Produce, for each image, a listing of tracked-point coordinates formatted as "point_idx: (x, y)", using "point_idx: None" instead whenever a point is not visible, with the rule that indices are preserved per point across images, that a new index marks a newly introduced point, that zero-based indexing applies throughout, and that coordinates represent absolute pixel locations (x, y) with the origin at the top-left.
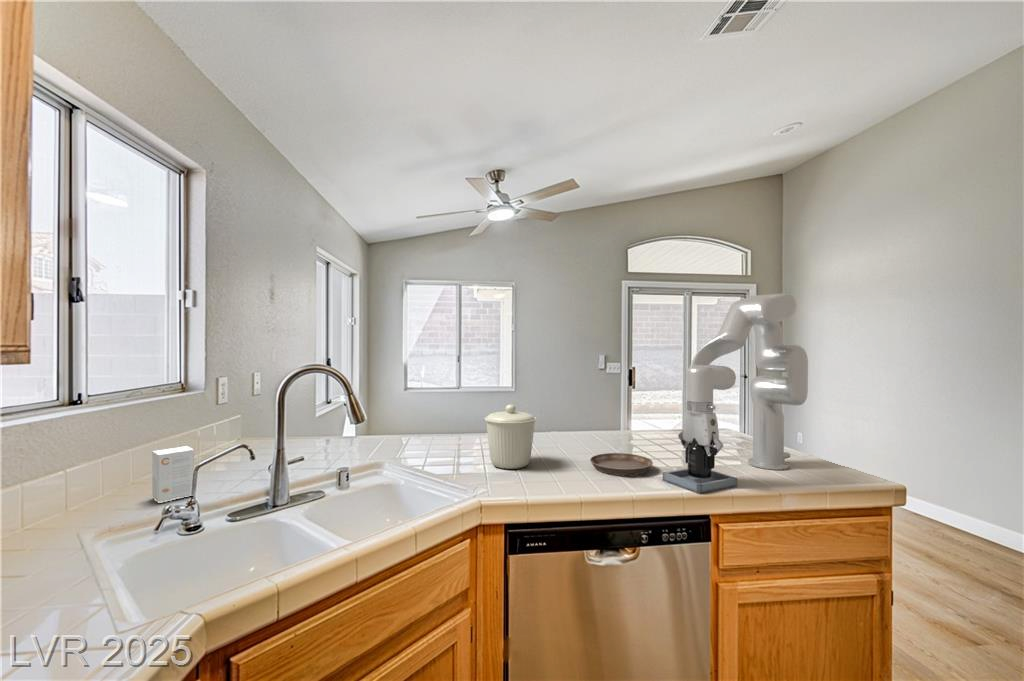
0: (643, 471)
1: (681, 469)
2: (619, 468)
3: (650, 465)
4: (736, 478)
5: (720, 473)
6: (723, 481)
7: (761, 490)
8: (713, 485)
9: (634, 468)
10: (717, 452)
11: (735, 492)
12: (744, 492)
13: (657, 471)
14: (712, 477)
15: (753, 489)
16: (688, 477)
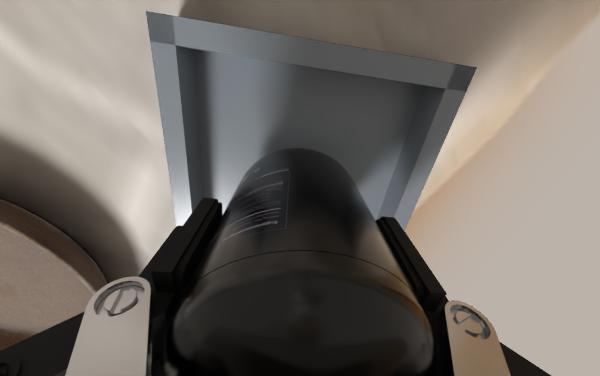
0: (104, 281)
1: (172, 189)
2: (6, 283)
3: (75, 272)
4: (472, 75)
5: (355, 60)
6: (421, 184)
7: (574, 13)
8: None
9: (14, 246)
10: (523, 365)
11: (457, 165)
12: (491, 133)
13: (64, 183)
14: (296, 65)
15: (530, 38)
16: (228, 176)
